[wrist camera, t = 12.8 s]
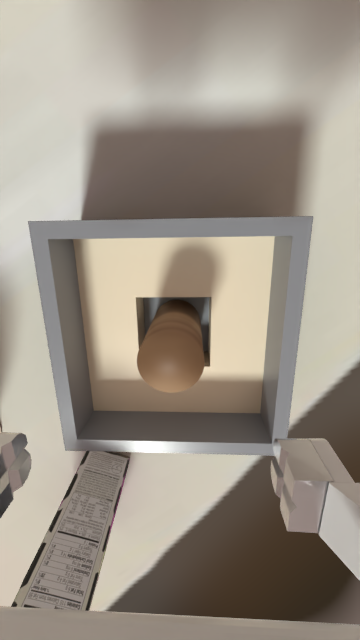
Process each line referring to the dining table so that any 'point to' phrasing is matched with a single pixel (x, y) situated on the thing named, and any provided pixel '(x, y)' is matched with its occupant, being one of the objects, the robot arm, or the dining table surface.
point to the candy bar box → (76, 537)
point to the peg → (172, 348)
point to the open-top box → (138, 313)
